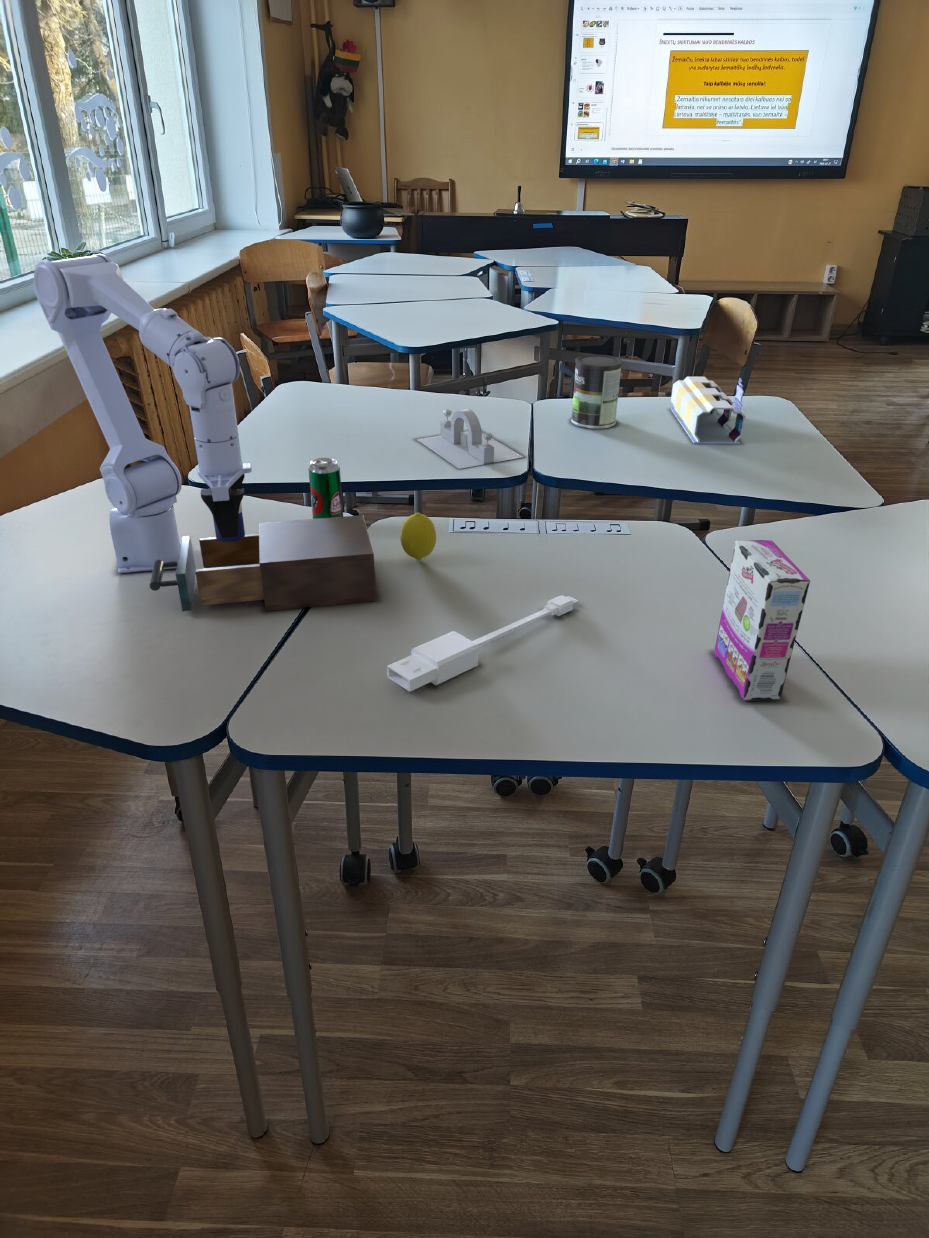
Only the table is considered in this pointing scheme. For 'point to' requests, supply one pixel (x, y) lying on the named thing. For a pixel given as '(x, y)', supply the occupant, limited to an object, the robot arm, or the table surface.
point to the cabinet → (316, 562)
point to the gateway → (467, 442)
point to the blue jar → (240, 529)
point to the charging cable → (458, 651)
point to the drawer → (215, 571)
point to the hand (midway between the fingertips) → (229, 529)
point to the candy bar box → (760, 619)
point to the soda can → (325, 488)
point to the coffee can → (596, 391)
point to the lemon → (418, 536)
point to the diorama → (707, 411)
